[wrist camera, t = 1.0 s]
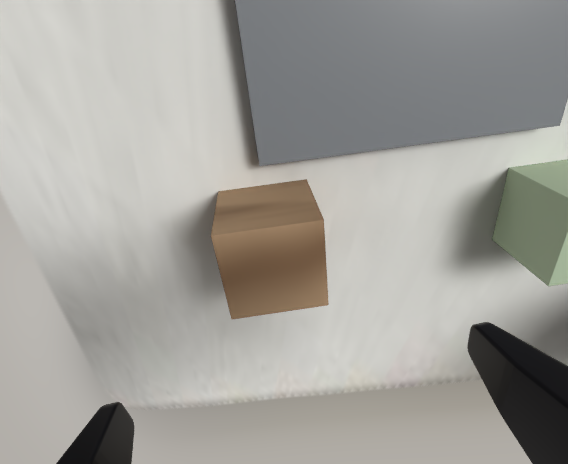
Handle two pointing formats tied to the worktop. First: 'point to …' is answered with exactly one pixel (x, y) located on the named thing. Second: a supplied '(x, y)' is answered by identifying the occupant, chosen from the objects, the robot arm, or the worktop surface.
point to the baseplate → (399, 72)
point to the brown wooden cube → (270, 249)
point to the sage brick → (536, 219)
